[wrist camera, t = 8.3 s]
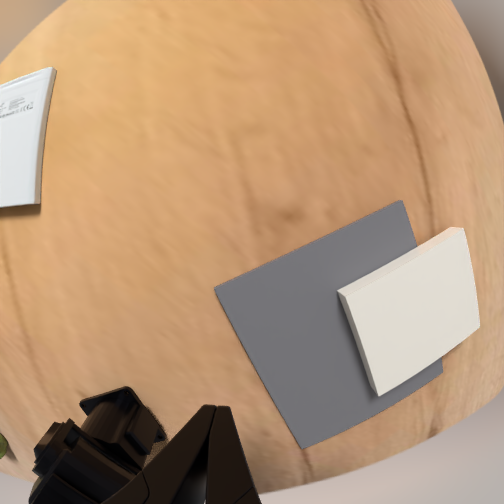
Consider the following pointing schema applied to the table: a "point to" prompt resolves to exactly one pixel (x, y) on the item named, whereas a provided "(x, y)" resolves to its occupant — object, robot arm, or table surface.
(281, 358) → the mat
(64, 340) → the table surface
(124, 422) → the robot arm
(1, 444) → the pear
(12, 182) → the external hard drive
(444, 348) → the tile
